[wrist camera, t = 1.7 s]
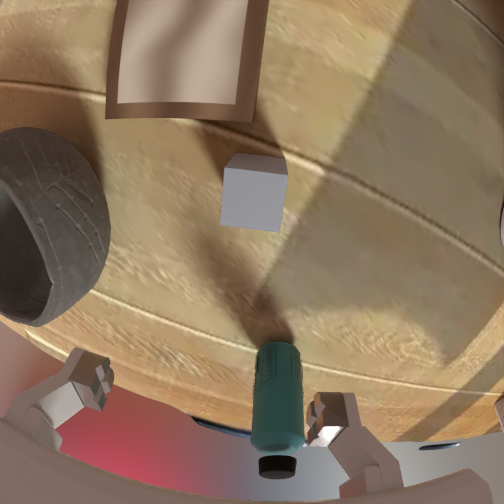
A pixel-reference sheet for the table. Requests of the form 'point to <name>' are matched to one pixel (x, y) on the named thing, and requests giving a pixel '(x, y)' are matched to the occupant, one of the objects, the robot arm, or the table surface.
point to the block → (254, 192)
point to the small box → (500, 411)
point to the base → (186, 59)
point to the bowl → (48, 226)
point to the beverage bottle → (278, 409)
